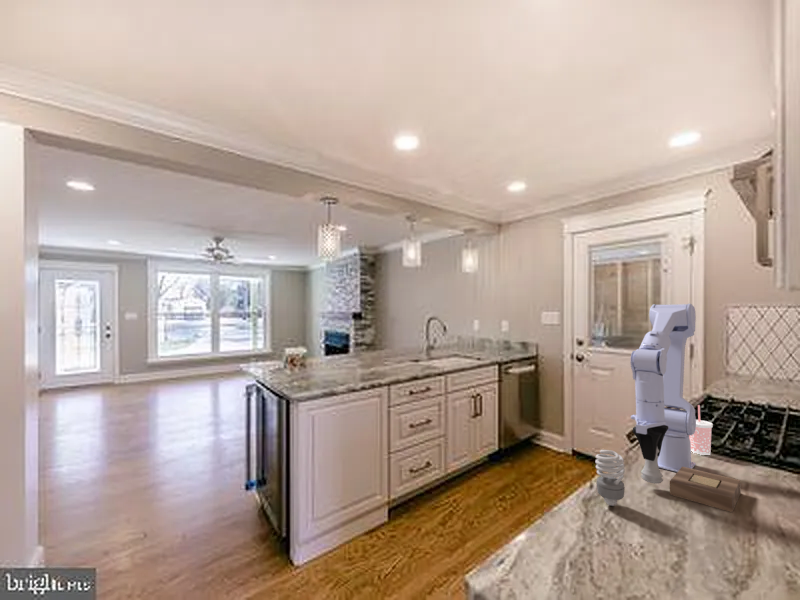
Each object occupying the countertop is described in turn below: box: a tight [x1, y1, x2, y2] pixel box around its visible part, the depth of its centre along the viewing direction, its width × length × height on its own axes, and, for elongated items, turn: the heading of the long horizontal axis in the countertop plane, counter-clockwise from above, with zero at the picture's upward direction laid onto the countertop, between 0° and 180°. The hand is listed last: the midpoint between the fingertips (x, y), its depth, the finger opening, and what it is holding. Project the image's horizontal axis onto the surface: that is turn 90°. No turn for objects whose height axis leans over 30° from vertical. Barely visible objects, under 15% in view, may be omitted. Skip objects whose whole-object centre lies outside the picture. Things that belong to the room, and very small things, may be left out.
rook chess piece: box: [640, 447, 664, 484], centre depth 92 cm, size 4×4×8 cm
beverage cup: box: [689, 404, 714, 456], centre depth 114 cm, size 6×6×14 cm
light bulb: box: [595, 449, 626, 507], centre depth 85 cm, size 6×6×12 cm
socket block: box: [669, 467, 741, 513], centre depth 89 cm, size 12×11×3 cm
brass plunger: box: [690, 475, 720, 488], centre depth 89 cm, size 5×5×1 cm
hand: (651, 457), depth 92 cm, fingers closed on rook chess piece, 3 cm apart
